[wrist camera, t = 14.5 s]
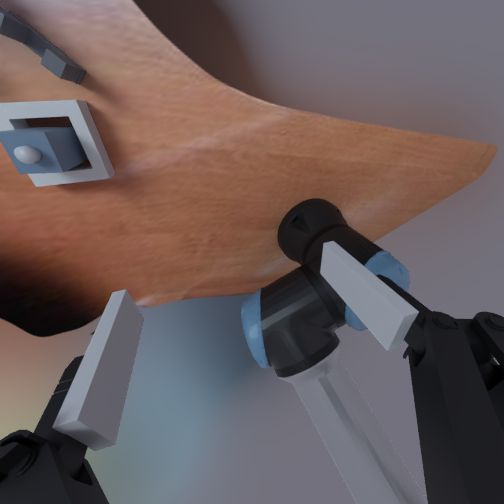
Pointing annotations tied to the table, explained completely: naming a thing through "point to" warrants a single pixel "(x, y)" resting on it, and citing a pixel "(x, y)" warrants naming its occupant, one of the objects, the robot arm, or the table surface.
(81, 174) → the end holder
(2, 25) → the clip
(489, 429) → the robot arm
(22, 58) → the table surface
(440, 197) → the table surface
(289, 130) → the table surface
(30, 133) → the connector
